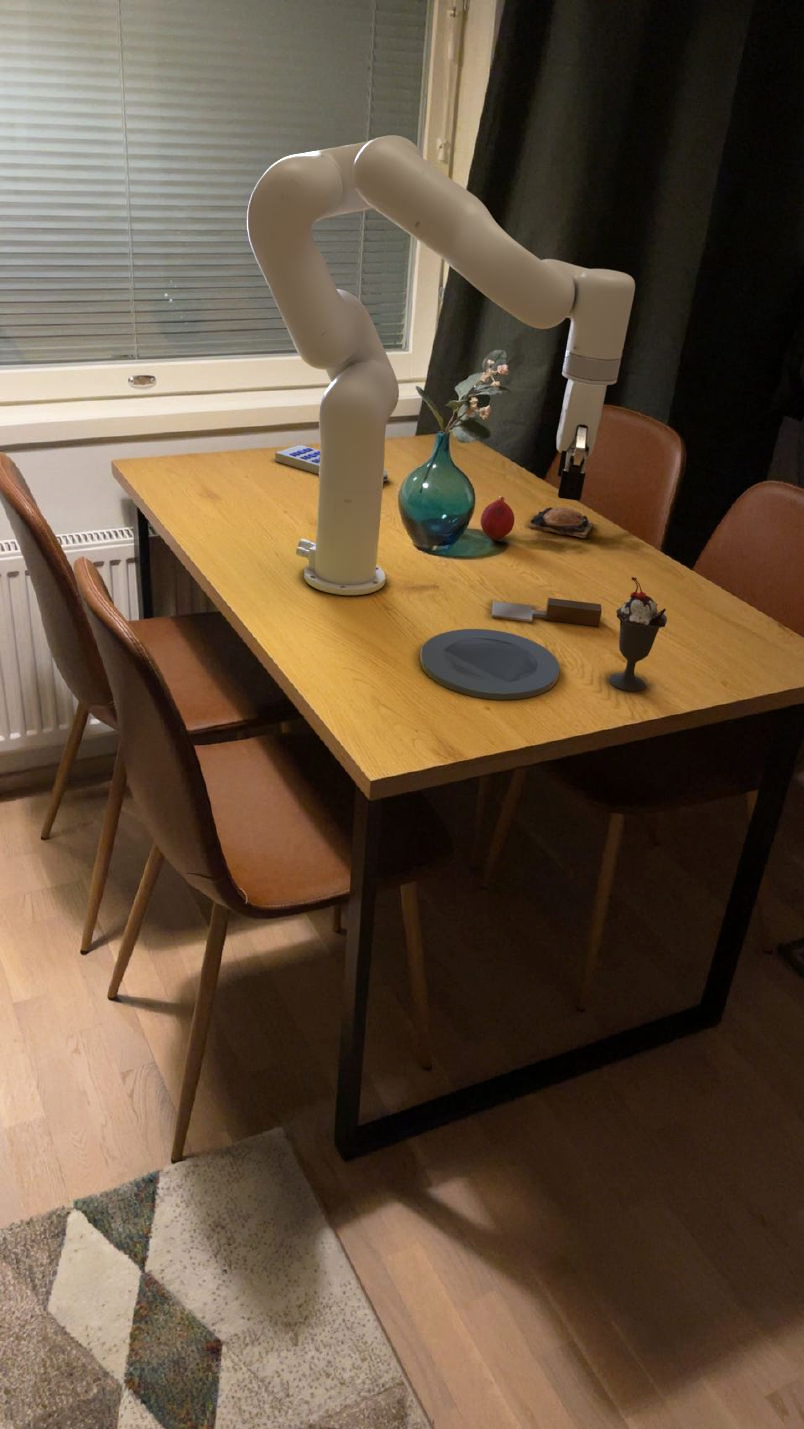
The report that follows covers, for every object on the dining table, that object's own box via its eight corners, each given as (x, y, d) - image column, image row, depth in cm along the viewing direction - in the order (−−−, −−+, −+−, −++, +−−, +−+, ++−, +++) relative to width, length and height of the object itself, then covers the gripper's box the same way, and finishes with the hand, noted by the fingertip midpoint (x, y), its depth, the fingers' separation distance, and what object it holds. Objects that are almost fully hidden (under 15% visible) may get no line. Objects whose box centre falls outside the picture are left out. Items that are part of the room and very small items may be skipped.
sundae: (596, 670, 155) (616, 569, 148) (644, 672, 156) (666, 572, 148) (608, 693, 149) (629, 590, 142) (657, 695, 150) (681, 592, 143)
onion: (509, 549, 192) (515, 504, 188) (475, 544, 193) (481, 499, 189) (513, 537, 197) (519, 493, 193) (480, 532, 198) (486, 488, 194)
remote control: (300, 454, 229) (300, 443, 228) (391, 480, 218) (392, 469, 217) (274, 461, 223) (275, 450, 222) (367, 489, 212) (368, 478, 211)
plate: (393, 669, 150) (394, 662, 150) (461, 623, 165) (461, 616, 164) (521, 715, 142) (522, 708, 142) (580, 662, 157) (581, 655, 156)
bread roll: (594, 526, 206) (598, 507, 204) (584, 540, 199) (588, 520, 197) (538, 514, 209) (541, 495, 207) (526, 528, 202) (529, 508, 200)
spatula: (491, 617, 167) (494, 601, 166) (492, 603, 172) (495, 587, 170) (599, 630, 166) (602, 614, 165) (597, 616, 171) (600, 600, 170)
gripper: (563, 350, 161) (542, 466, 169) (564, 378, 146) (542, 503, 154) (615, 357, 160) (592, 473, 169) (622, 386, 145) (596, 511, 154)
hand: (568, 487), depth 162 cm, fingers open, 9 cm apart
